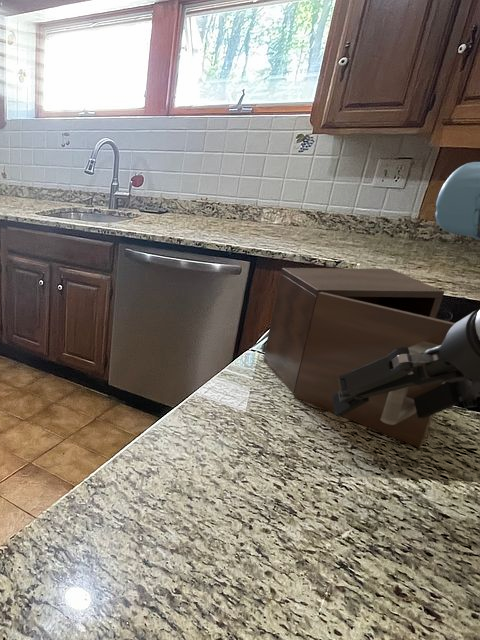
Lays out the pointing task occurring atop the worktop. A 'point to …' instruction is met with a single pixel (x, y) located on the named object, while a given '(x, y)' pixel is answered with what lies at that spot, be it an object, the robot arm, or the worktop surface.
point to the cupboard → (356, 284)
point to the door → (367, 360)
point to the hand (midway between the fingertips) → (377, 407)
